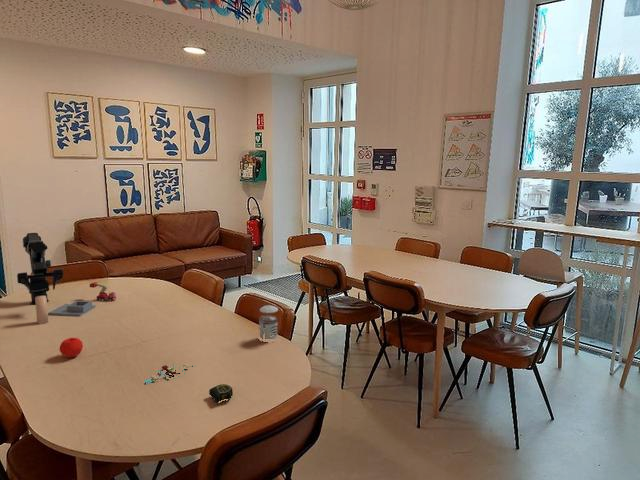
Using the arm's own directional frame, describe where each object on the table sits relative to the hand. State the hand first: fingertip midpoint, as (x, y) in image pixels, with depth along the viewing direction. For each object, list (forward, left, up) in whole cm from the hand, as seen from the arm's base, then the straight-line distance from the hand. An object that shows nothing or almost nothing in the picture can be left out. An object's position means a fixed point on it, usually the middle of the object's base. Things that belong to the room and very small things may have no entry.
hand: (42, 291), depth 208 cm
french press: (+111, -15, -13) cm, 113 cm away
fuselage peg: (+4, -7, -13) cm, 15 cm away
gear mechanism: (+81, -50, -14) cm, 96 cm away
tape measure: (+103, -66, -14) cm, 123 cm away
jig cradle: (+8, +10, -13) cm, 18 cm away
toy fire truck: (+14, +29, -13) cm, 35 cm away
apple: (+38, -40, -13) cm, 57 cm away
